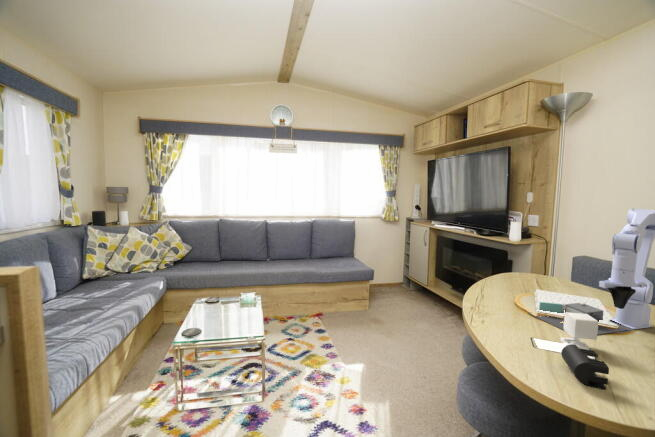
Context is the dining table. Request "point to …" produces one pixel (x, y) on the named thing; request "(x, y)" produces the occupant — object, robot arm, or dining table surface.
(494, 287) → the dining table surface
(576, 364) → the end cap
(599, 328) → the mat
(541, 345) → the smartphone
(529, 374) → the dining table surface
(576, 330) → the security camera
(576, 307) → the housing
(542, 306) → the side door
